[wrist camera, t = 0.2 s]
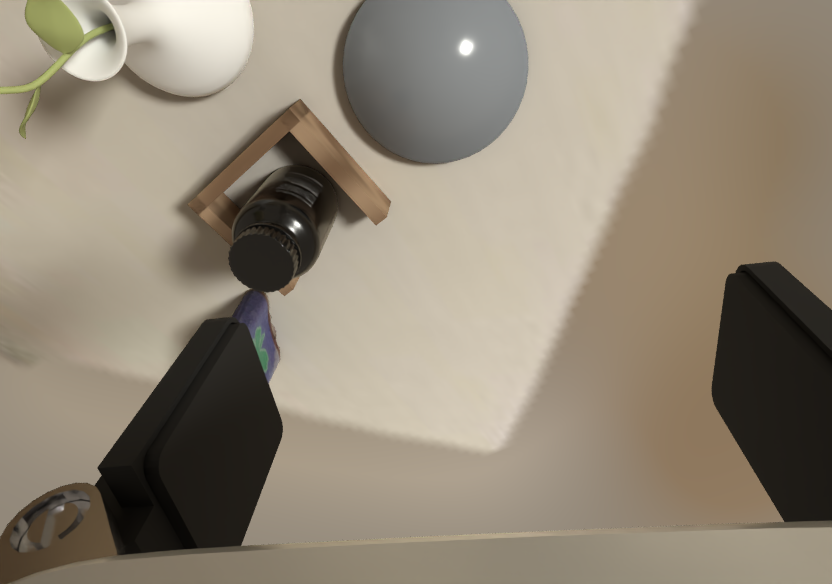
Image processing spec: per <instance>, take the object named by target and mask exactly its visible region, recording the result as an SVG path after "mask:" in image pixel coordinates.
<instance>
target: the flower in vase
mask: <svg viewBox="0 0 832 584" xmlns="http://www.w3.org/2000/svg"><path fill="white" fill-rule="evenodd" d="M25 19H26V22H27V24H28V26H29V27H30V28H31V29H32V30H33V31H34V33H36V34H37V35H38V37H39V40H40V42H41V44H42V46H43V47H44V49H45V51H46V52H47V54H48V55H49V56H50V58H51V59H52V60H53V61H54V62H55V63H54V64H53V65H52V66H51V67H50V68H49V69H48V70H47V71H46V72H45V73H44V74H43V75H41V76H40V77H39V78H38V79H36V80H35V81H33V82H31V83H29V84H26V85H22V86H12V87H0V94H14V93H23V92H28V91H31V90H34V89H36V90H35V92H34V94H33V96H32V98H31V100H30V102H29V105H28V107H27V110H26V113H25V117H24V120H23V121H22V123H21V125H20V128H19V133H20V135H21V136H22V137H24V138H25V139H26V131H25V126H26V122H27V121H28V119H29V118H30V116H31V115H32V113H33V112H34V110H35V108H36V106H37V104H38V101H39V96H40V89H41V85H42V84H44V83H45V82H46V81H47V80H49V79H50V78H51V77H52V76H53V75H54V74H55V73H56V72H57V71H58V70H59V69H60V68H62V69H63V70H64V71H66V72H67V73H69V74H70V75H72V76H74V77H77V78H79V79H82V80H86V81H103V80H106V79H109V78H111V77H113V76H114V75H115V74H117V73H118V71H119V70H120V69H121V67H122V66H123V64H124V63H125V64H126V65H127V66H128V67H129V68H130V69H131V70H132V71H133V72H134V73H135V74H136V75H138V76H139V77H140V78H141V79H143V80H144V81H146V82H147V83H149V84H151V85H153V86H155V87H156V88H158V89H161V90H163V91H166V92H169V93H171V94H175V95H179V96H185V97H202V96H208V95H211V94H214V93H217V92H219V91H221V90H223V89H225V88H226V87H228V86H229V85H230V84H232V83H233V82H234V81H235V80H236V79H237V78H238V76H239V75H240V74H241V72H242V71H243V69H244V68H245V66H246V64H247V62H248V59H249V56H250V53H251V50H252V45H253V37H254V20H253V14H252V8H251V4H250V1H249V0H28V1H27V4H26V8H25Z"/></svg>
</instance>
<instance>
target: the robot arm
mask: <svg viewBox="0 0 832 584" xmlns="http://www.w3.org/2000/svg"><path fill="white" fill-rule="evenodd" d="M712 397H713V401H714V405H715V407H716V409H717V410H718V412H719V413H720V415H721V417H722V419H723V420H724V422H725V424H726V425H727V426H728V429H729V430H730V432H731V433H732V435H733V437H734V438H735V440H736V442H737V444H738V445H739V447H740V448H741V450H742V452H743V454H744V455H745V457H746V458H747V460H748V462H749V463H750V465H751V467H752V469H753V470H754V472H755V473H756V475H757V477H758V478H759V480H760V482H761V483H762V485H763V487H764V488H765V490H766V492H767V493H768V495H769V497H770V498H771V500H772V502H773V503H774V505H775V507H776V508H777V510H778V512H779V513H780V515H781V517H782V518H783V520H784V522H773V523H771V522H770V523H733V524H710V525H709V524H708V525H684V526H660V527H634V528H610V529H609V528H608V529H583V530H560V531H539V532H516V533H494V534H493V533H492V534H470V535H449V536H429V537H428V536H427V537H406V538H387V539H386V538H385V539H366V540H347V541H327V542H309V543H287V544H268V545H250V546H241V544H242V542H243V539H244V536H245V534H246V531H247V528H248V526H249V523H250V521H251V518H252V515H253V513H254V510H255V507H256V505H257V502H258V499H259V497H260V494H261V491H262V489H263V486H264V483H265V481H266V478H267V475H268V473H269V470H270V468H271V465H272V462H273V460H274V457H275V454H276V451H277V449H278V446H279V444H280V441H281V438H282V432H283V426H282V420H281V417H280V414H279V412H278V409H277V406H276V403H275V401H274V398H273V395H272V392H271V389H270V387H269V384H268V381H267V378H266V376H265V373H264V370H263V367H262V364H261V362H260V359H259V356H258V353H257V351H256V348H255V345H254V342H253V339H252V337H251V334H250V331H249V329H248V327H247V325H246V324H245V323H239V321H238V320H237V319H236V318H234V317H228V318H218V319H209V320H205V321H204V322H203V323H202V325H201V326H200V328H199V329H198V330H197V332H196V333H195V334H194V336H193V337H192V339H191V340H190V341H189V343H188V344H187V345H186V347H185V348H184V349H183V351H182V352H181V354H180V355H179V356H178V358H177V359H176V360H175V362H174V363H173V365H172V366H171V367H170V369H169V370H168V371H167V373H166V374H165V376H164V377H163V378H162V380H161V381H160V382H159V384H158V385H157V387H156V388H155V389H154V391H153V392H152V394H151V395H150V396H149V398H148V399H147V400H146V402H145V403H144V404H143V406H142V407H141V409H140V410H139V411H138V413H137V414H136V416H135V417H134V418H133V420H132V421H131V422H130V424H129V425H128V426H127V428H126V429H125V431H124V432H123V433H122V435H121V436H120V437H119V439H118V440H117V441H116V443H115V444H114V446H113V447H112V449H111V450H110V451H109V452H108V454H107V455H106V457H105V458H104V459H103V461H102V462H101V464H100V465H99V466H98V470H99V471H100V473H101V475H102V476H101V477H100V479H99V480H98V481H97V483H96V484H95V486H94V485H91V484H89V483H72V484H68V485H64V486H61V487H58V488H56V489H54V490H51V491H49V492H47V493H45V494H43V495H42V496H40V497H39V498H37V499H35V500H33V501H32V502H31V503H29V504H28V505H27V506H26V507H24V508H23V509H22V510H21V511H19V512H18V513H17V515H16V516H15V517H14V518H13V519H12V520H11V521H10V522H9V523H8V524H7V526H6V528H5V530H4V531H3V533H2V535H1V536H0V584H832V310H831V309H830V308H829V307H828V306H827V305H825V304H824V303H823V302H822V301H821V300H820V299H819V298H818V297H816V296H815V295H814V294H813V293H812V292H811V291H810V290H809V289H807V288H806V287H805V286H804V285H803V284H802V283H801V282H799V280H797V279H796V278H795V277H794V276H793V275H792V274H791V273H790V272H788V271H787V270H786V269H785V268H784V267H783V266H782V265H781V264H779V263H777V262H764V263H755V264H745V265H740V266H739V267H738V269H737V270H736V273H734V274H729V275H728V277H727V279H726V284H725V291H724V299H723V306H722V314H721V321H720V329H719V336H718V344H717V351H716V358H715V366H714V374H713V381H712Z"/></svg>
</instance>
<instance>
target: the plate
mask: <svg viewBox="0 0 832 584" xmlns="http://www.w3.org/2000/svg"><path fill="white" fill-rule="evenodd" d="M343 76H344V82H345V88H346V92H347V95H348V99H349V102H350V104H351V106H352V109H353V111H354V113H355V115H356V116H357V118H358V120H359V122H360V123H361V124H362V126H363V127H364V128H365V130H366V131H367V132H368V133H369V134H370V135H371V136H372V137H373V138H374V139H375V140H376V141H377V142H378V143H379V144H381V145H382V146H383V147H385V148H386V149H388V150H389V151H391V152H393V153H395V154H397V155H399V156H401V157H403V158H406V159H410V160H413V161H417V162H423V163H448V162H452V161H457V160H461V159H463V158H466V157H469V156H471V155H473V154H475V153H477V152H479V151H481V150H482V149H484V148H485V147H487V146H488V145H490V144H491V143H492V142H493V141H494V140H495V139H497V138H498V137H499V136H500V134H501V133H502V132H503V131H504V130H505V129H506V128H507V126H508V125H509V123H510V122H511V121H512V119H513V118H514V116H515V114H516V112H517V110H518V108H519V106H520V103H521V101H522V98H523V96H524V92H525V88H526V84H527V76H528V51H527V44H526V40H525V36H524V32H523V29H522V27H521V24H520V22H519V19H518V17H517V16H516V14H515V12H514V10H513V9H512V7H511V6H510V4H509V3H508V2H507V0H366V1H365V2H364V3H363V5H362V6H361V8H360V9H359V11H358V12H357V14H356V16H355V18H354V20H353V22H352V24H351V26H350V29H349V32H348V35H347V38H346V43H345V48H344V57H343Z"/></svg>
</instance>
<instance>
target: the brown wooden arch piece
mask: <svg viewBox="0 0 832 584" xmlns="http://www.w3.org/2000/svg"><path fill="white" fill-rule="evenodd" d="M289 131H290V132H291V133H292V134H293V135H294V136H295V138H296V139H297V140H298V141H299V142H300V143H301V144H302V145H303V146H304V147H305V149H306V150H307V151H308V152H309V153H310V154H311V155H312V156H313V157H314V158H315V159H316V161H317V162H318V163H319V164H320V165H321V166H322V167H323V168H324V169H325V170H326V171H327V173H328V174H329V175H330V176H331V177H332V178H333V179H334V180H335V181H336V182H337V184H338V185H339V186H340V187H341V188H342V189H343V190H344V191H345V192H346V193H347V194H348V196H349V197H350V198H351V199H352V200H353V201H354V202H355V203H356V204H357V205H358V206H359V208H360V209H361V210H362V211H363V212H364V213H365V214H366V215H367V216H368V217H369V219H370V220H371V221H372V222H373V223H374V224H375V225H377V224H378V223H380V222H381V221H382V220H384V219H385V218H386V217H387V214H388V211H389V207H390V203H391V201H390V200H389V199H388V198H387V197H386V196H385V194H384V193H383V192H382V191H381V190H380V189H379V188H378V186H377V185H376V184H375V183H374V182H373V181H372V180H371V179H370V177H369V176H368V175H367V174H366V173H365V172H364V171H363V169H362V168H361V167H360V166H359V165H358V164H357V163H356V162H355V160H354V159H353V158H352V157H351V156H350V155H349V154H348V152H347V151H346V150H345V149H344V148H343V147H342V146H341V145H340V143H339V142H338V141H337V140H336V139H335V138H334V137H333V135H332V134H331V133H330V132H329V131H328V130H327V129H326V128H325V126H324V125H323V124H322V123H321V122H320V121H319V120H318V118H317V117H316V116H315V115H314V114H313V113H312V112H311V111H310V109H309V108H308V107H307V106H306V105H305V104H304V103H303V101H302V100H301V99H299V100H298V101H297V102H296V103H295V104H294V105H292V106H291V107H290V108H289V109H288V110H287V111H286V112H285V113H284V114H283V115H281V116H280V117H279V118H278V119H277V120H276V121H275V122H274V123H273V124H272V125H271V126H270V127H269V128H268V129H267V130H266V131H265V132H264V133H262V134H261V135H260V136H259V137H258V138H257V139H256V140H255V141H254V142H253V143H252V144H251V145H250V146H249V147H248V148H247V149H246V150H245V151H243V152H242V153H241V154H240V155H239V156H238V157H237V158H236V159H235V160H234V161H233V162H232V163H231V164H230V165H229V166H228V167H227V168H226V169H224V170H223V171H222V172H221V173H220V174H219V175H218V176H217V177H216V178H215V179H214V180H213V181H212V182H211V183H210V184H209V185H208V186H207V187H205V188H204V189H203V190H202V191H201V192H200V193H199V194H198V195H197V196H196V197H195V198H194V199H193V200H192V201H191V202H190V203H189V204H188V206H189V207H190V208H191V209H192V210H194V211H195V212H196V213H197V214H198V215H199V216H200V217H201V218H202V219H203V220H204V221H205V222H206V223H207V224H208V225H209V226H210V227H212V228H213V229H214V230H215V231H216V232H217V233H218V234H219V235H220V236H221V237H222V238H223V239H224V240H225V241H226V242H227V243H229V244H230V245H232V244H233V242H232V226H233V222H234V220H235V218H236V216H237V214H238V213H239V211H240V209H239V208H238V207H237V206H236V205H235V204H234V203H233V202H232V201H231V200H230V199H229V198H228V197H227V196H226V195H225V194H224V193H223V192H224V191H225V190H226V189H227V188H228V187H230V186H231V185H232V184H233V183H234V182H235V181H236V180H237V179H238V178H239V177H240V176H241V175H243V174H244V173H245V172H246V171H247V170H248V169H249V168H250V167H251V166H252V165H253V164H254V163H255V162H257V161H258V160H259V159H260V158H261V157H262V156H263V155H264V154H265V153H266V152H267V151H268V150H270V149H271V148H272V147H273V146H274V145H275V144H276V143H277V142H278V141H279V140H280V139H281V138H283V137H284V136H285V135H286V134H287V133H288V132H289ZM299 277H300V276H299ZM299 277H297V278H294V279H292V280H291V281H290V283H289V284H288V285H286V286H285V287H284V288H281V289H280V290H278V291H279V292H280V293H282V294H283V295H284V296H285V295H286V294H288V293H289V292H290V291H292V290H293V289H294V287H295V285H296V283H297V281H298V279H299Z"/></svg>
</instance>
